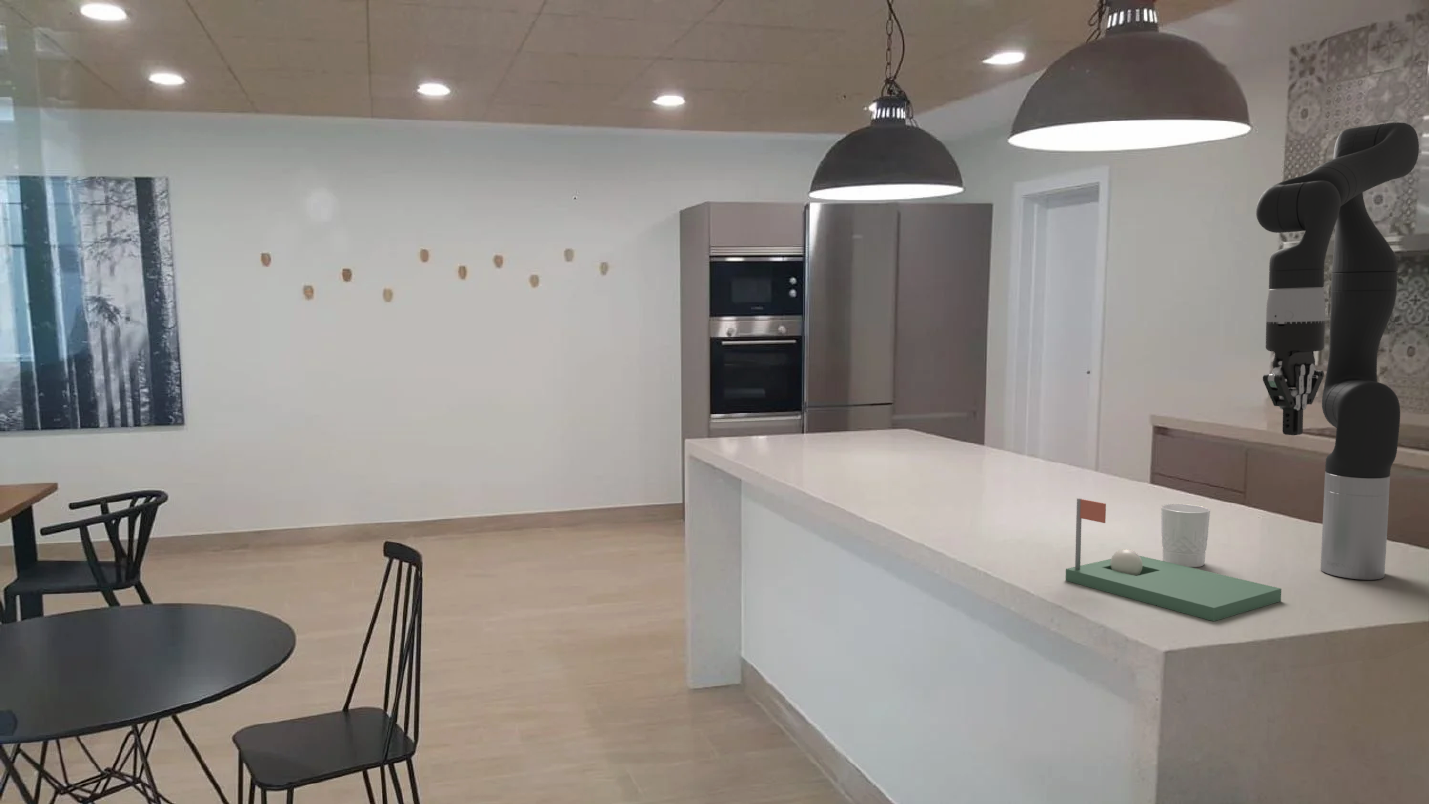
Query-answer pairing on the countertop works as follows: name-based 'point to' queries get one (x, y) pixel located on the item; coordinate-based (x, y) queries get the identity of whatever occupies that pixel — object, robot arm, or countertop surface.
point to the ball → (1126, 562)
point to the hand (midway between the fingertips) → (1292, 434)
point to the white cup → (1184, 534)
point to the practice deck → (1169, 581)
